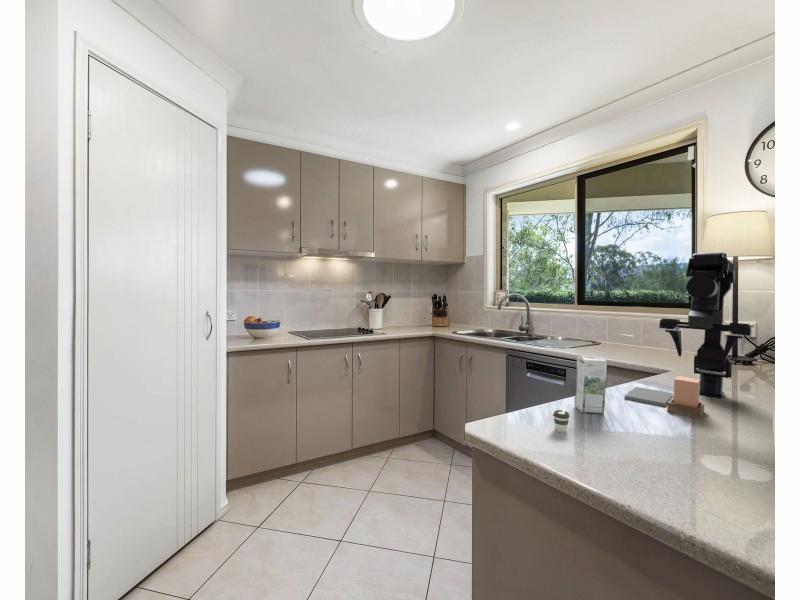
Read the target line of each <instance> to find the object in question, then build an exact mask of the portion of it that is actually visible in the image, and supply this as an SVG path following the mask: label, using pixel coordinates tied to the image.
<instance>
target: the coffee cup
mask: <svg viewBox="0 0 800 600" xmlns="http://www.w3.org/2000/svg"><path fill="white" fill-rule="evenodd" d="M552 417H553V420H554V422H553V423H554V424H553V425H554V430H555V431H556V432H557V433H563V434H564V433H566V432H567V429H568V424H569V419H570V414H569V412H568V411H566V410H563V409H561V410H560V409H557V410H554V412H553V414H552Z"/></svg>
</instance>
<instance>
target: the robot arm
mask: <svg viewBox="0 0 800 600" xmlns="http://www.w3.org/2000/svg"><path fill="white" fill-rule="evenodd" d="M727 254H728V253H726V252H704V253H700V252H699V253H692V257H689V258H688V259H689V260H688V265H687V268H686V269H687V270H686V274H685V277H686V278H690V279H689V280H688V281H687V283H686V286H685V287H686V292H687V293H688V295H690V296H691V303H690V304H691V305H690V310H689V312H688V314H687V315H688V316H687V321H681V319H679V318H676V319H675V318H665V317H664V318H661V319H660V320H659V326H658V327H659V329H665V330H664V332H665V333H669V335H670V336H671V338H672V340H673V342H674V345H675V349H676V352H677V354H678V357H679V358H681V357H682V353H683V351H682V350H683V349H682V348H683V347H682V345H683V344H682V330H680V329H689V330H702V331H704V337H703V343H702V344H701V345H700V347H699V348H698V349H697V351H696V354H694V358H693V374H696V375H697V374H698V375H699V379H700V393H699V395H704V396H709V397H710V396H711V397H715V398H722V399H723V398H724V396H725V392H724V391H723V385H724V384H723V383H724V382H723V381H724V379H729V378H732V373H733V372H732V371H733V364H732V362H731V361H730V358H728V356H729V355H730V352H731V350H732V348H733V346H734V345H735V344H736V342H737V341H738V340H739V339H744V338H745V336H751V335H752V325H750V324H749V323H737V322H736V323H734V322H730V323H729V324H723V322H724V304H725V297H727V296H726V295H728V293H729V292H730V291H731V290H732V286H733V285H732V284H735V280H736V267H735V264H734V263H733V262H731V261H730V260H729V259H728V255H727ZM723 332H728V333H729V334H727V335H726V340H725V346H723V345H722V337H723V335H722V334H723Z"/></svg>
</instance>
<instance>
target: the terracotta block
mask: <svg viewBox="0 0 800 600" xmlns="http://www.w3.org/2000/svg"><path fill="white" fill-rule="evenodd" d="M673 381H674V384H673V386H674V387H673V397H674V400H673V403H675V404H680V405H685V406H690V407H696V408H699V402H700V394H699V393H700V378H699V379H698V378H694V377H693V378H692V377H686V376H679V375H677V376H676V377H675V378H674V380H673Z"/></svg>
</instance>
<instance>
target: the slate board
mask: <svg viewBox="0 0 800 600" xmlns="http://www.w3.org/2000/svg"><path fill="white" fill-rule="evenodd" d="M672 397H674V392H668V391H662V390H657V389H651V388H645V387H640V386H635V387H634V388H633V389H631V390H629V391H628V393H626V394H624V400H628V399H630V401H633V400H635V401H634V402H638V401H640V403H643V402H645V404H648V403H650V404H649V405H653V406H659V407H665V406H666V405H668V402H669V401H670V399H671V398H672Z"/></svg>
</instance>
